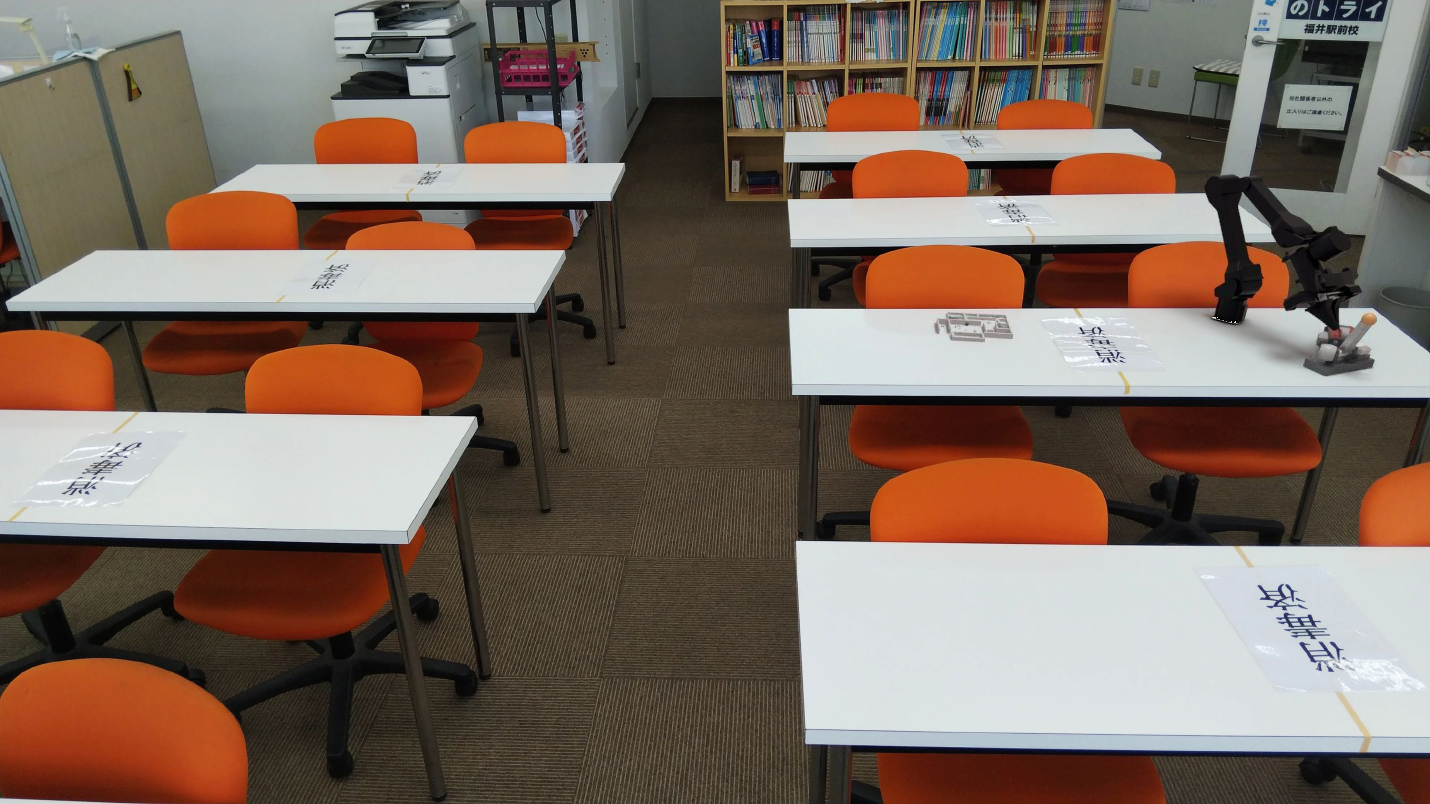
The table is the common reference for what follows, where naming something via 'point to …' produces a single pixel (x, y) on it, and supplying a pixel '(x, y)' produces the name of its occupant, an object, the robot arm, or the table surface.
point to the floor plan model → (1001, 328)
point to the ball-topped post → (1357, 334)
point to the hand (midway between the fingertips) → (1336, 330)
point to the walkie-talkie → (1334, 335)
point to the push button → (1327, 352)
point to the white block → (1363, 348)
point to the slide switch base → (1340, 363)
